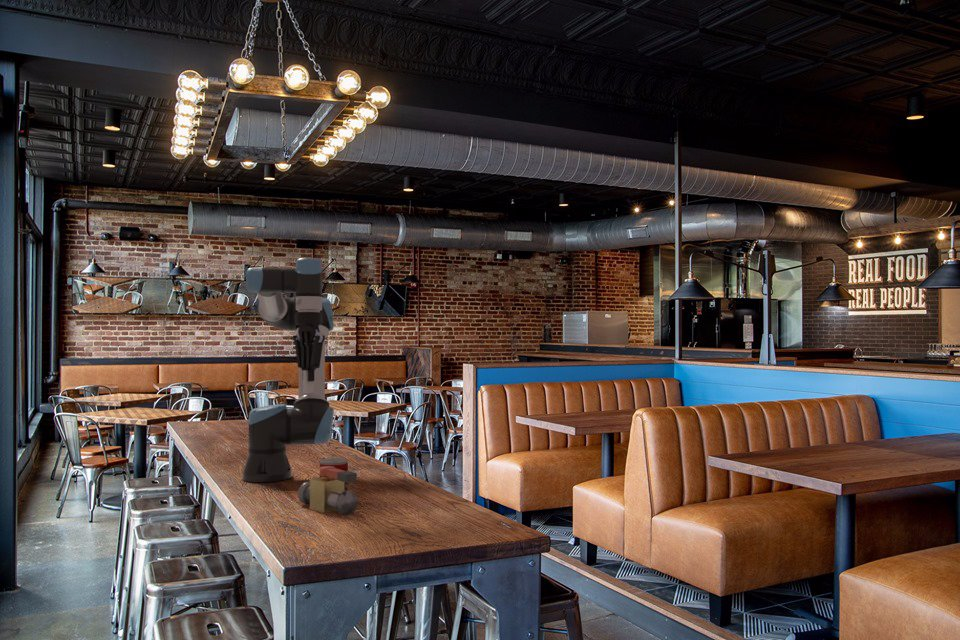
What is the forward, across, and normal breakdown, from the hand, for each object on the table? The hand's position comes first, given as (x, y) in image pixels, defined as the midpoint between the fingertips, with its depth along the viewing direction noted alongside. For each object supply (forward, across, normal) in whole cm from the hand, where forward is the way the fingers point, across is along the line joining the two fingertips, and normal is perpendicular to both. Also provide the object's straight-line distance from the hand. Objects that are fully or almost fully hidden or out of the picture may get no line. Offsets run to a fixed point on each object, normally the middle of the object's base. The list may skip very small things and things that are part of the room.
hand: (308, 392), depth 215 cm
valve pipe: (+29, +19, -7) cm, 36 cm away
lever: (+20, +24, -8) cm, 32 cm away
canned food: (+30, +11, +1) cm, 32 cm away
